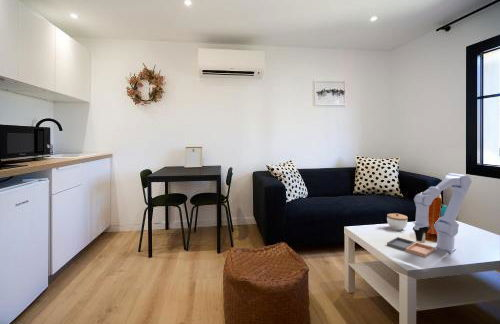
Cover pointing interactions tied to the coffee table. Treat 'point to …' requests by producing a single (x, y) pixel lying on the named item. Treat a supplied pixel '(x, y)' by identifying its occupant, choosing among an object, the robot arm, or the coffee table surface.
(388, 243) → the tray
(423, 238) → the beige rounded cylinder
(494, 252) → the coffee table surface
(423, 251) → the tray
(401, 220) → the lidded bowl
